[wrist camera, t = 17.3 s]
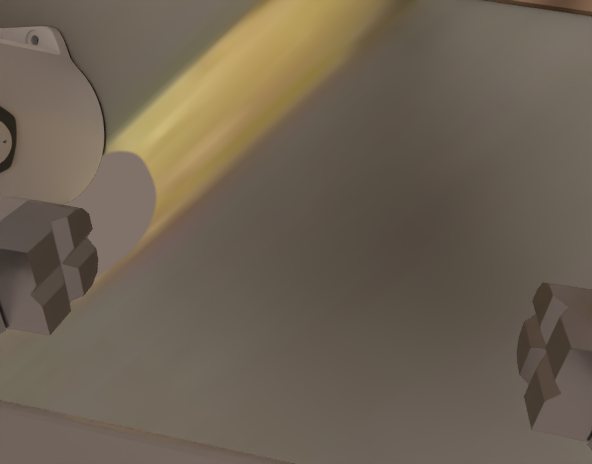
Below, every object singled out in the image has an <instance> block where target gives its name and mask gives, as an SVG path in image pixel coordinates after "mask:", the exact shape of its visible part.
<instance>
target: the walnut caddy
mask: <svg viewBox="0 0 592 464" xmlns="http://www.w3.org/2000/svg"><path fill="white" fill-rule="evenodd" d="M486 1H493V2H500V3H507V4H514V5H521V6H527V7H534V8H541V9H548V10H555V11H562V12H568V13H575V14H582V15H589V16H592V0H486Z"/></svg>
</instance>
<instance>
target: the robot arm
mask: <svg viewBox="0 0 592 464" xmlns="http://www.w3.org/2000/svg"><path fill="white" fill-rule="evenodd" d="M38 39H39V41H38V43H37V40H38ZM103 147H104V124H103V117H102V112H101V109H100V105H99V102H98V99H97V97H96V95H95V92H94V90H93V88H92V87H91V85H90V83H89V82H88V80H87V79H86V77H85V76H84V75H83V74H82V73H81V71H80V70H79V69H78V68H77V67H76V65H75V64H74V63H73V61H72V60H71V58H70V56H69V53H68V50H67V47H66V45H65V42H64V40H63V37H62V35H61V34H60V32H59V31H58V30H57V29H56V28H53V27H47V26H33V27H14V28H0V334H1V333H2V332H4V331H6V328H8V329H14V330H20V331H26V332H32V333H38V334H44V335H51V334H52V332H53V331H54V330H55V329H56V328H57V327H58V325H59V324H60V323H61V322H62V321H63V320H64V318H65V317H66V316H67V315H68V314H69V313H70V311H71V308H70V301H73V300H75V299H77V298H79V297H82V296H84V295H85V294H86V292H87V291H88V290H89V289H90V287H91V286H92V284H93V282H94V279H95V276H96V274H97V269H98V256H97V250H96V248H95V247H94V245H93V244H92V243H91V242H90V241H89V239H88V238H87V237H88V235H89V234H90V232H91V231H92V224H91V220H90V216H89V213H87V212H86V211H85V210H84V209H82V208H77V207H71V206H66V205H63V204H66V203H68V202H70V201H71V200H73V199H75V198H76V197H78V196H79V195H80V194H81V193H82V192H83V191H84V190H85V189H86V188H87V187H88V186H89V184H90V183H91V181H92V180H93V178H94V176H95V174H96V172H97V170H98V167H99V165H100V161H101V158H102V153H103ZM532 302H533V305H534V309H535V313H536V314H535V315H533V316H532V317H530V318H529V319H527V320H525V321H524V324H523V326H522V329H521V332H520V335H519V340H518V347H517V364H518V370H519V375H520V376H521V377H522V378H523V379H524V380H525V381H526V382H527V383H528V384H529V386H528V388H527V390H526V393H525V395H524V398H525V403H526V407H527V412H528V416H529V421H530V425H531V430H535V431H540V432H544V433H549V434H553V435H558V436H562V437H567V438H571V439H576V440H580V441H585V442H589V443H588V444H587V445H588V446H589V447H590V448H591V450H592V289H585V288H578V287H571V286H564V285H557V284H550V283H542V284H541V285H540V287H539V288H538V289H537V291H536V294H535V296H534V298H533V301H532ZM0 464H294V463H289V462H285V461H280V460H275V459H271V458H266V457H262V456H257V455H252V454H248V453H243V452H238V451H234V450H229V449H225V448H220V447H215V446H211V445H206V444H202V443H197V442H192V441H188V440H183V439H178V438H174V437H169V436H165V435H160V434H155V433H151V432H146V431H141V430H137V429H132V428H128V427H123V426H118V425H114V424H109V423H105V422H100V421H95V420H91V419H86V418H81V417H77V416H72V415H68V414H63V413H58V412H54V411H49V410H44V409H40V408H35V407H31V406H26V405H21V404H17V403H12V402H8V401H3V400H0Z"/></svg>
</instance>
